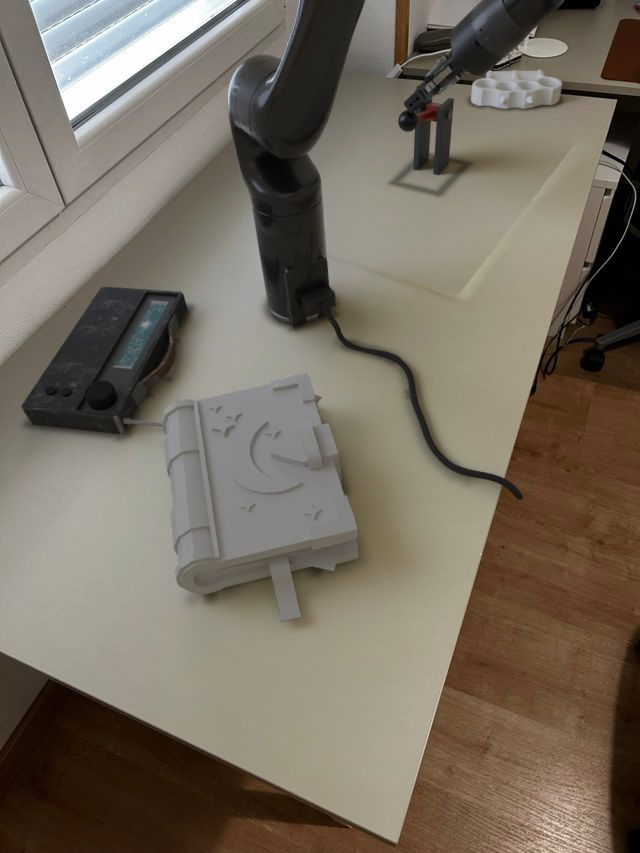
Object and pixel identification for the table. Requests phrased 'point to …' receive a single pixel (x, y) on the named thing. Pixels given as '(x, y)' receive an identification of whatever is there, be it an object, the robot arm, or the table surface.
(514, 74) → the white muffin tray
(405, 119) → the lever
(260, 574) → the book
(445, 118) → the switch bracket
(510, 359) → the table surface
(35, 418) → the radio
